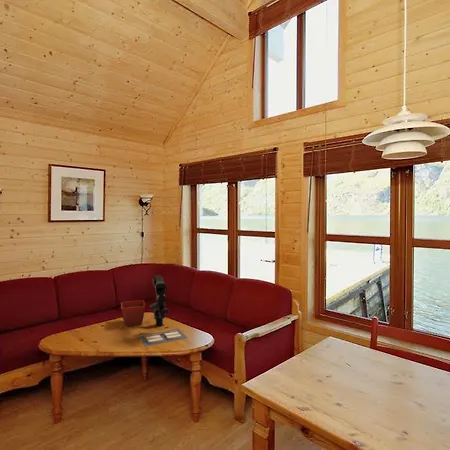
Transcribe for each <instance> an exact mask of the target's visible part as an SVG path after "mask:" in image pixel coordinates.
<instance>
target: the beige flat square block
mask: <svg viewBox="0 0 450 450" xmlns="http://www.w3.org/2000/svg"><path fill="white" fill-rule="evenodd" d="M164 336H165V337H166V338H167V339H168V340H171V339H176V338H181V335H180V334H179V333H178V332H177V331H176V332H170V333H165V334H164Z"/></svg>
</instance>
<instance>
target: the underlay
mask: <svg viewBox="0 0 450 450" xmlns="http://www.w3.org/2000/svg"><path fill="white" fill-rule="evenodd" d="M175 329H176V330H177V332H178V333H179V334H180V335H181V338H176V339H171V340H168V339H167V338H166V337H165V336H164V335H162V336H161V337H162V338H163V341H161V342H156V343H151V344H149V343H148V341H147V340H146V339H145V338H144V337H143V334H142V335H138V336H137V337H138V339H139V340H140V342H141V343H142V345H143V347H145V348H146V347H151V346H155V345H161V344H165V343H172V342H174V341H180V340H185V339H188V337H187V335H186V334H184V333H183V332H182V331H181V329H179V328H175Z"/></svg>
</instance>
